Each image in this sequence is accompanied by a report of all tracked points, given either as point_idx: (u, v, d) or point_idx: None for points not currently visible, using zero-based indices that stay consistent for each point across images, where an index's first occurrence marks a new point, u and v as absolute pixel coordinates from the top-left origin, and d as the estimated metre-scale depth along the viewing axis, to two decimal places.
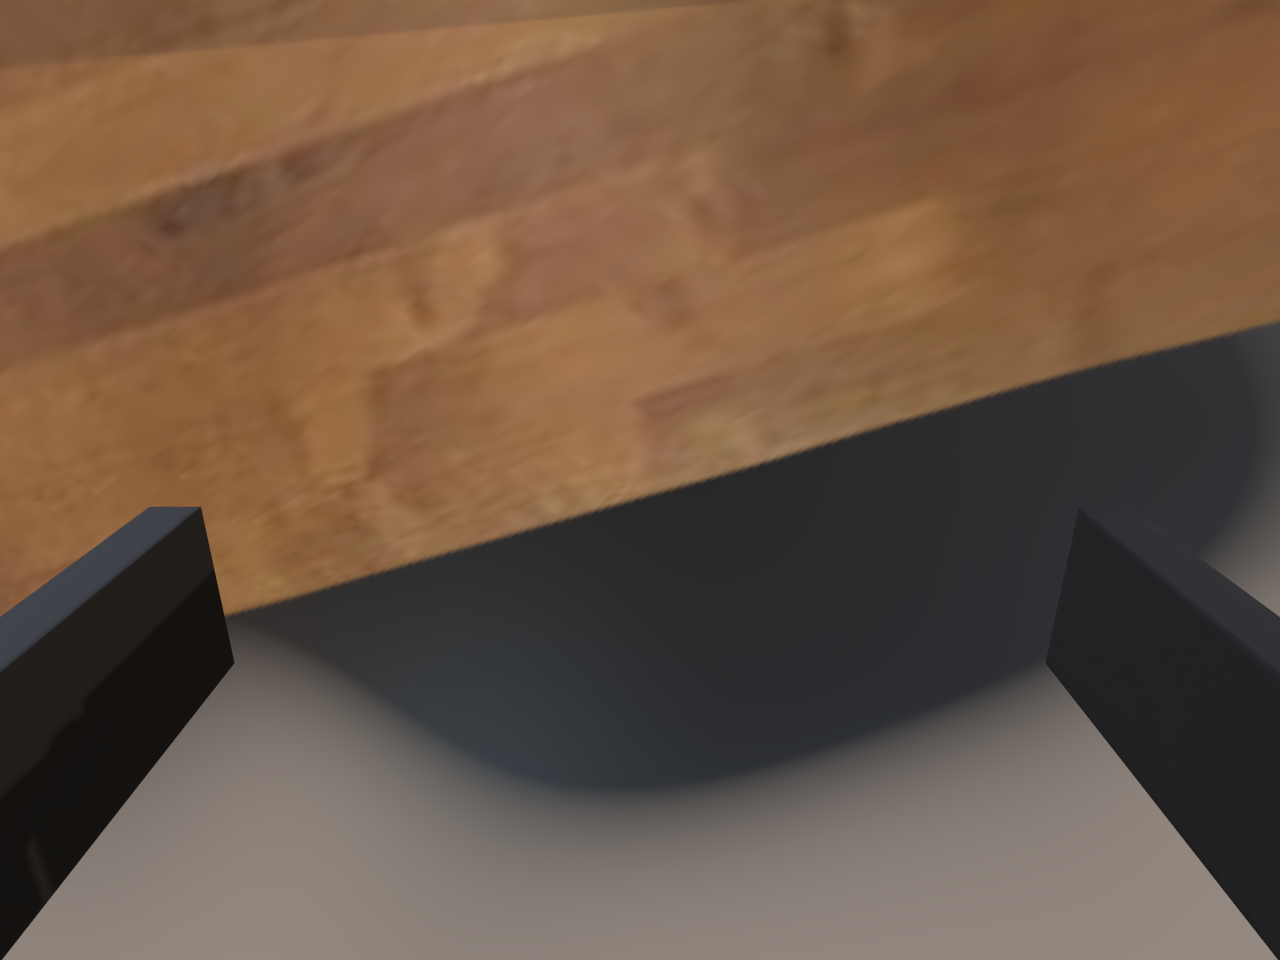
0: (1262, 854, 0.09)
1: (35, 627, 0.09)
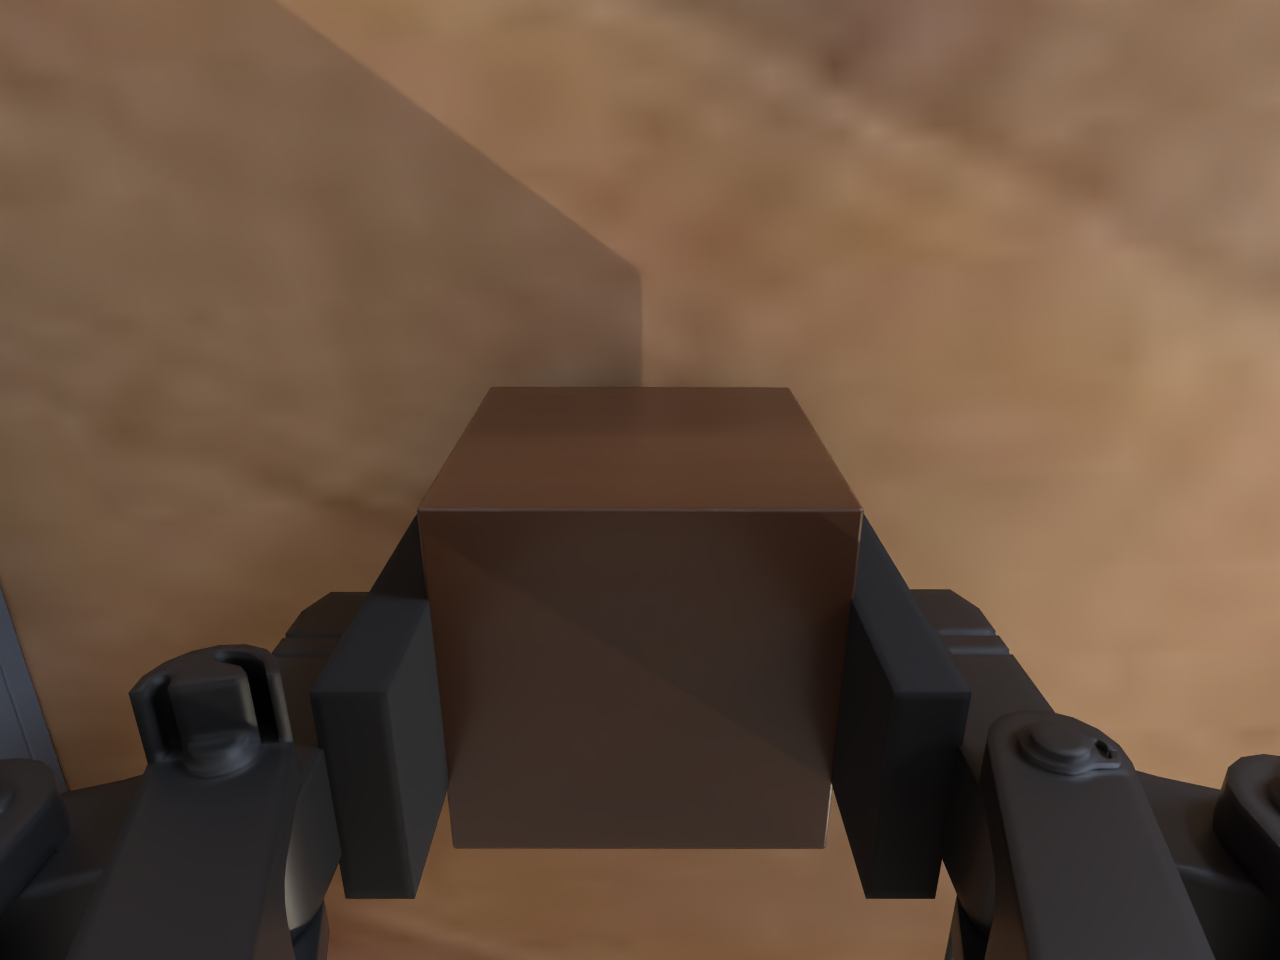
0: None
1: None
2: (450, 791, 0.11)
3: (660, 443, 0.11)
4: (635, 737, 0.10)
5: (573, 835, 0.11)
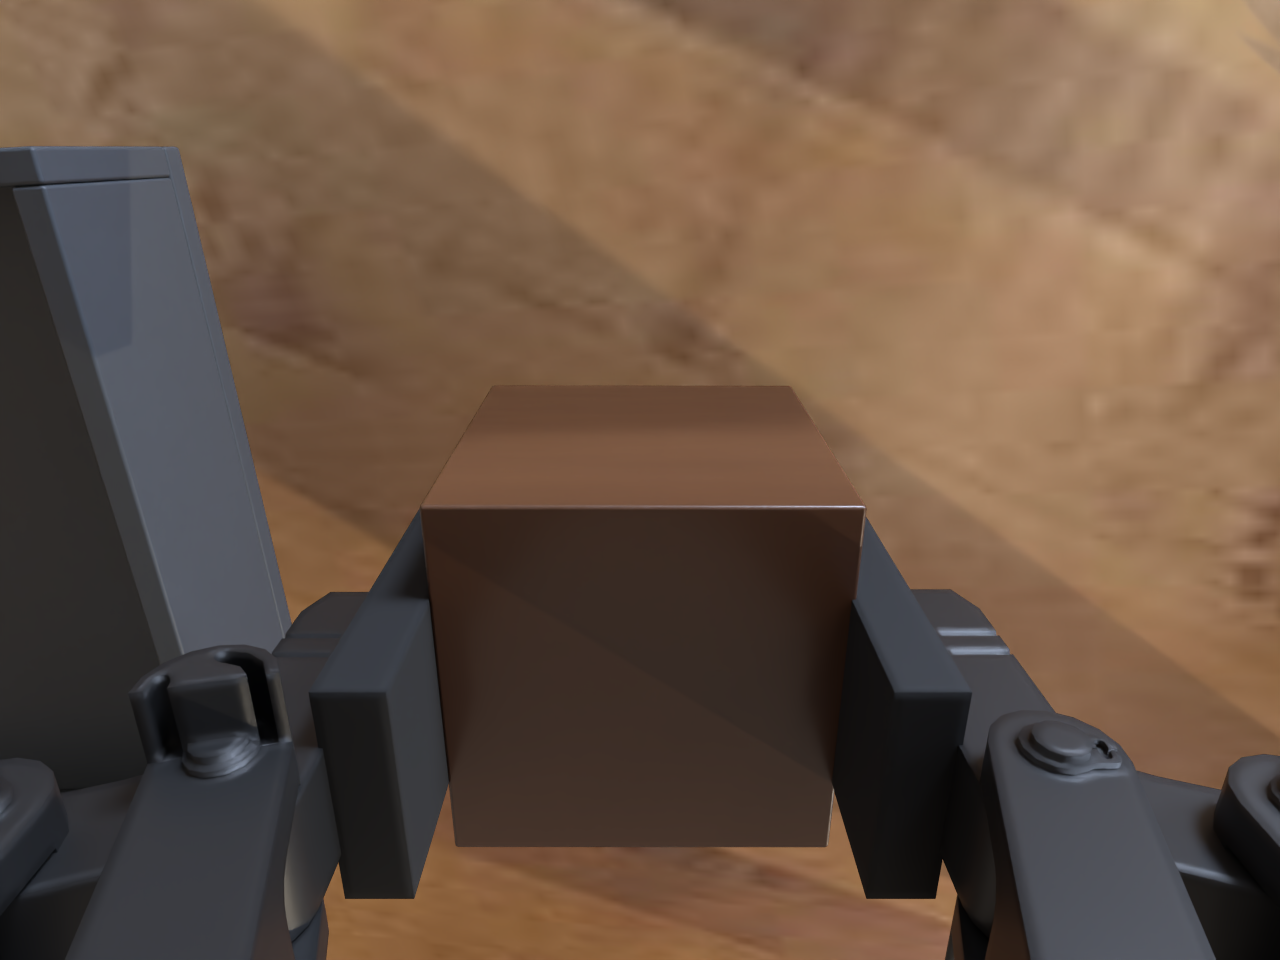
0: None
1: None
2: (452, 789, 0.11)
3: (662, 441, 0.11)
4: (637, 736, 0.10)
5: (575, 834, 0.11)
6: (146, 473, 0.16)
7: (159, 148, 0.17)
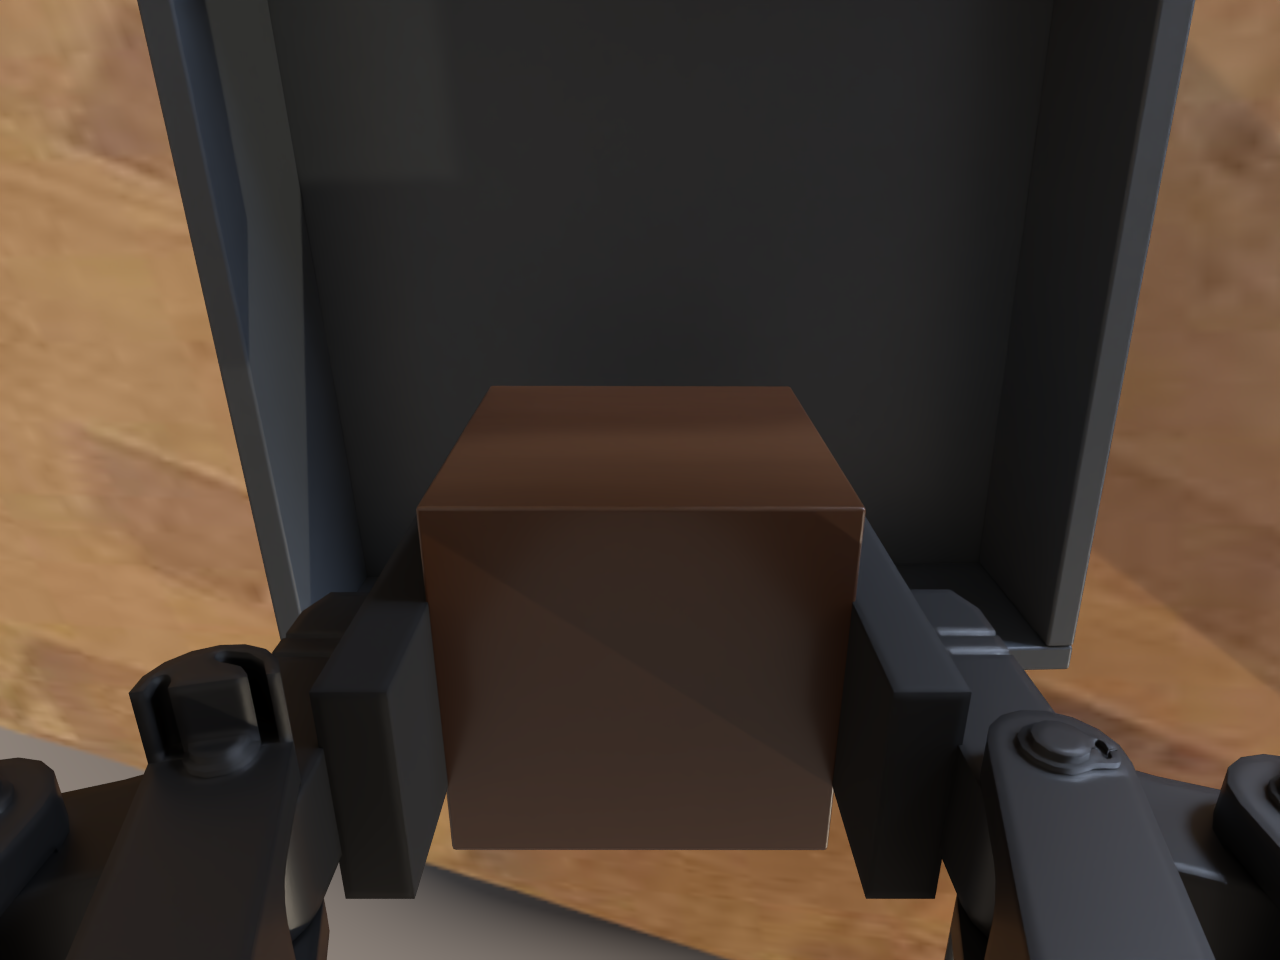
0: None
1: None
2: (449, 792, 0.11)
3: (661, 442, 0.11)
4: (635, 737, 0.10)
5: (573, 836, 0.11)
6: None
7: None
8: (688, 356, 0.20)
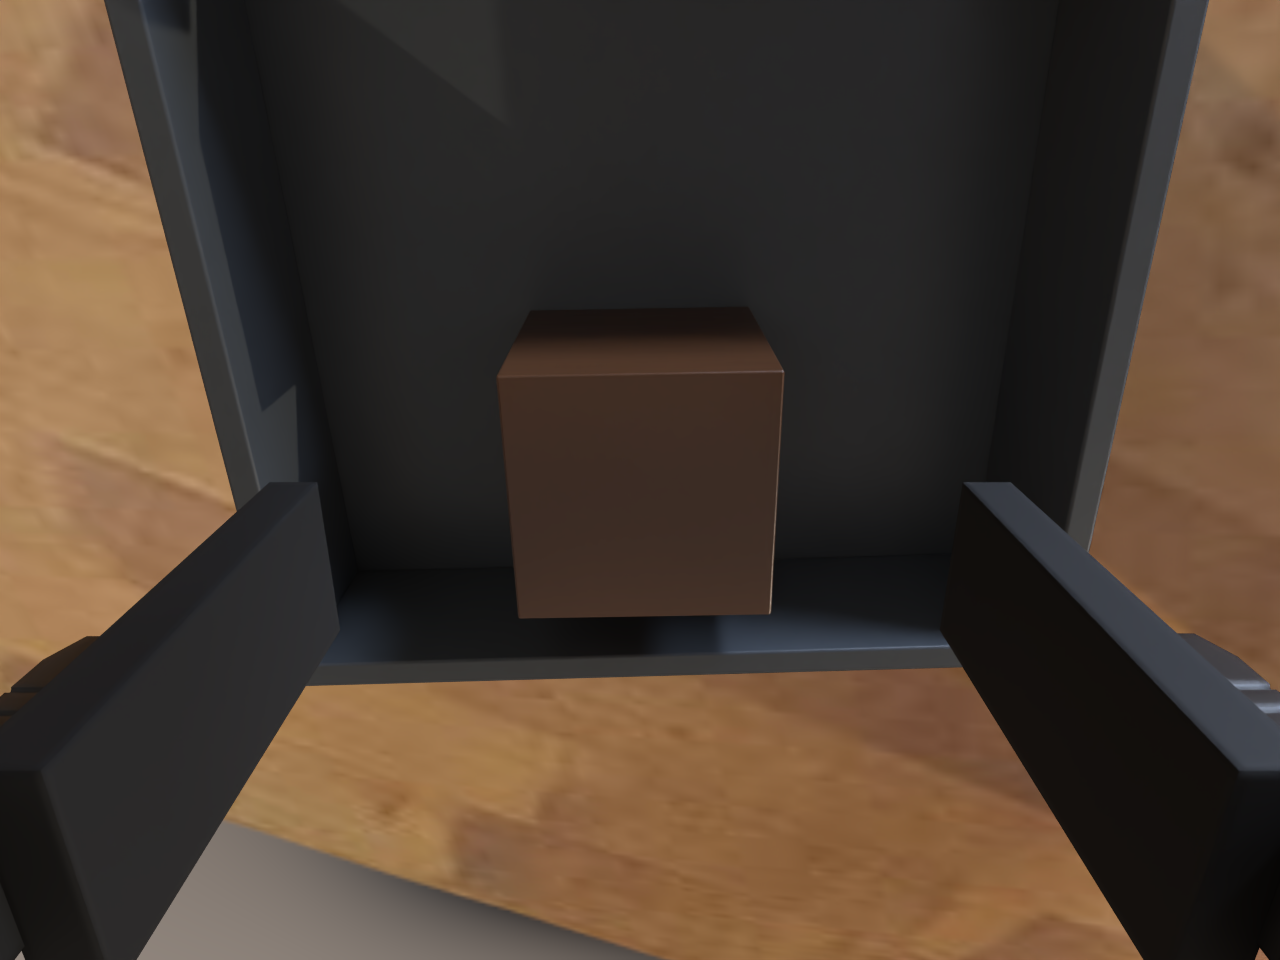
0: (1084, 787, 0.09)
1: (202, 584, 0.10)
2: (516, 575, 0.16)
3: (654, 339, 0.16)
4: (640, 534, 0.16)
5: (599, 607, 0.16)
6: None
7: None
8: None
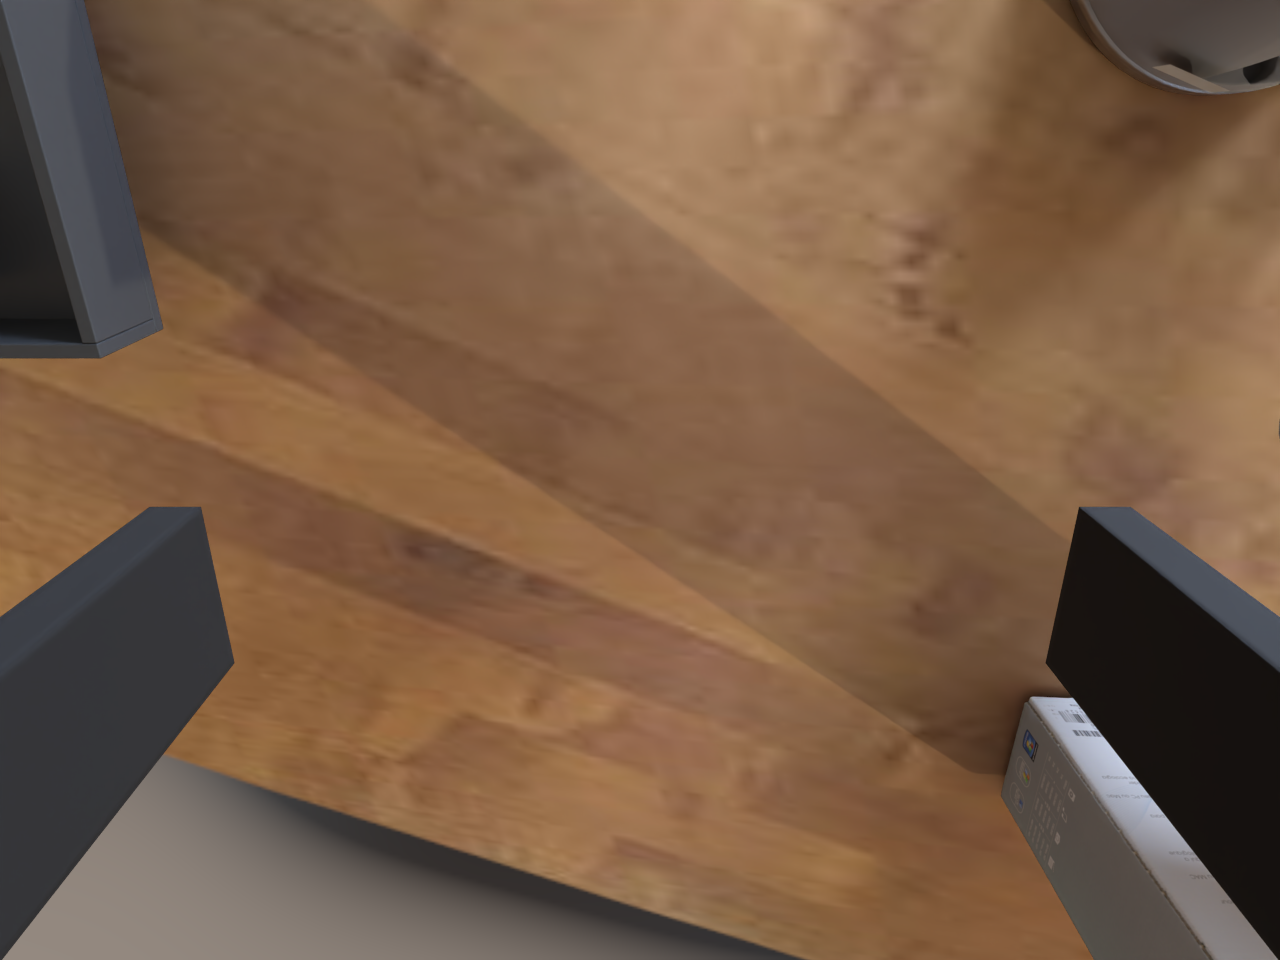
0: (1262, 854, 0.09)
1: (35, 627, 0.09)
2: None
3: None
4: None
5: None
6: (19, 28, 0.28)
7: None
8: None
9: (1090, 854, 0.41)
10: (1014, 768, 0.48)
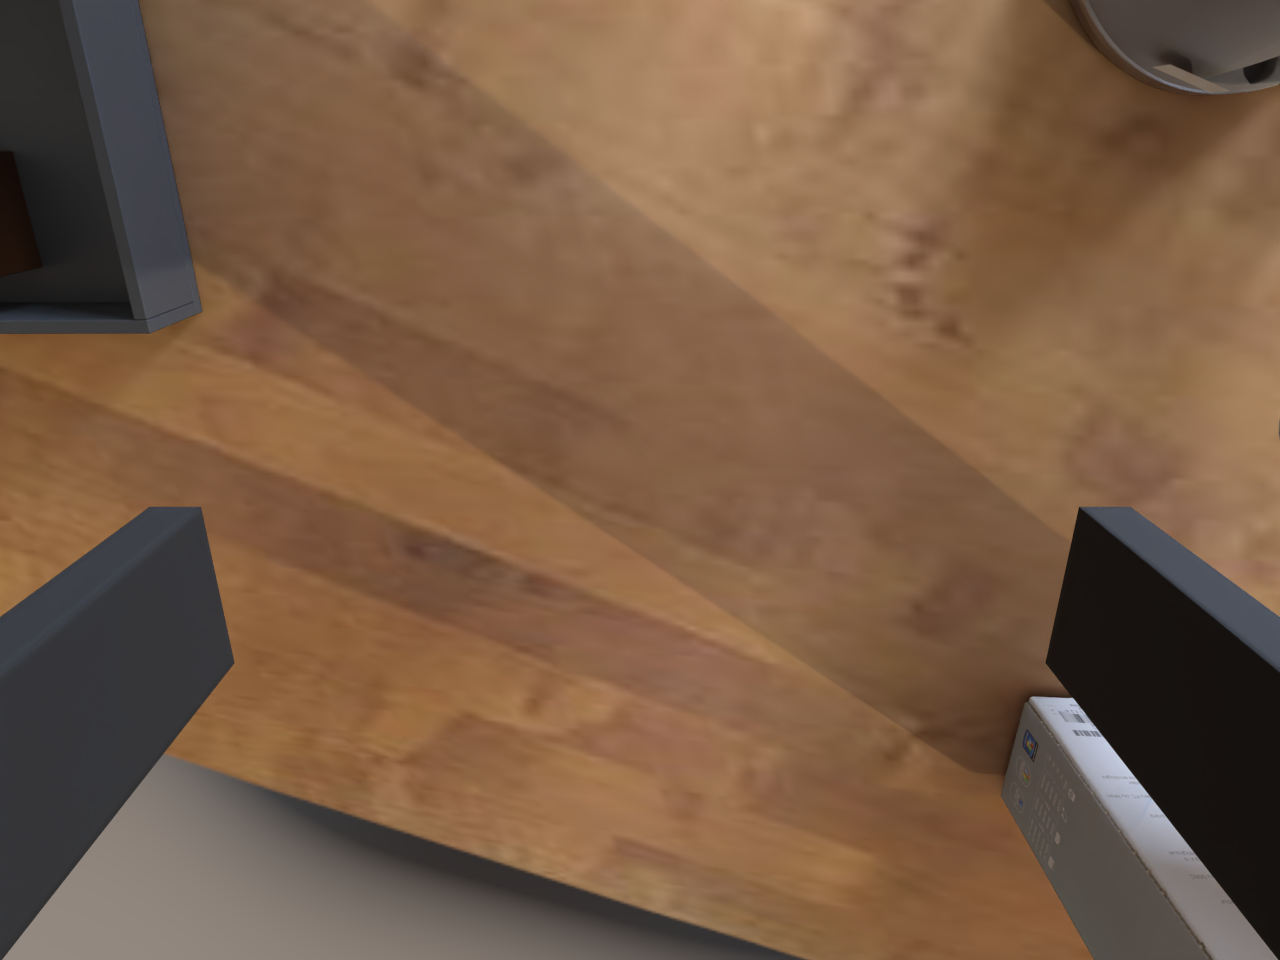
0: (1261, 853, 0.09)
1: (35, 627, 0.09)
2: None
3: None
4: None
5: None
6: (89, 37, 0.32)
7: None
8: None
9: (1090, 854, 0.41)
10: (1014, 768, 0.48)
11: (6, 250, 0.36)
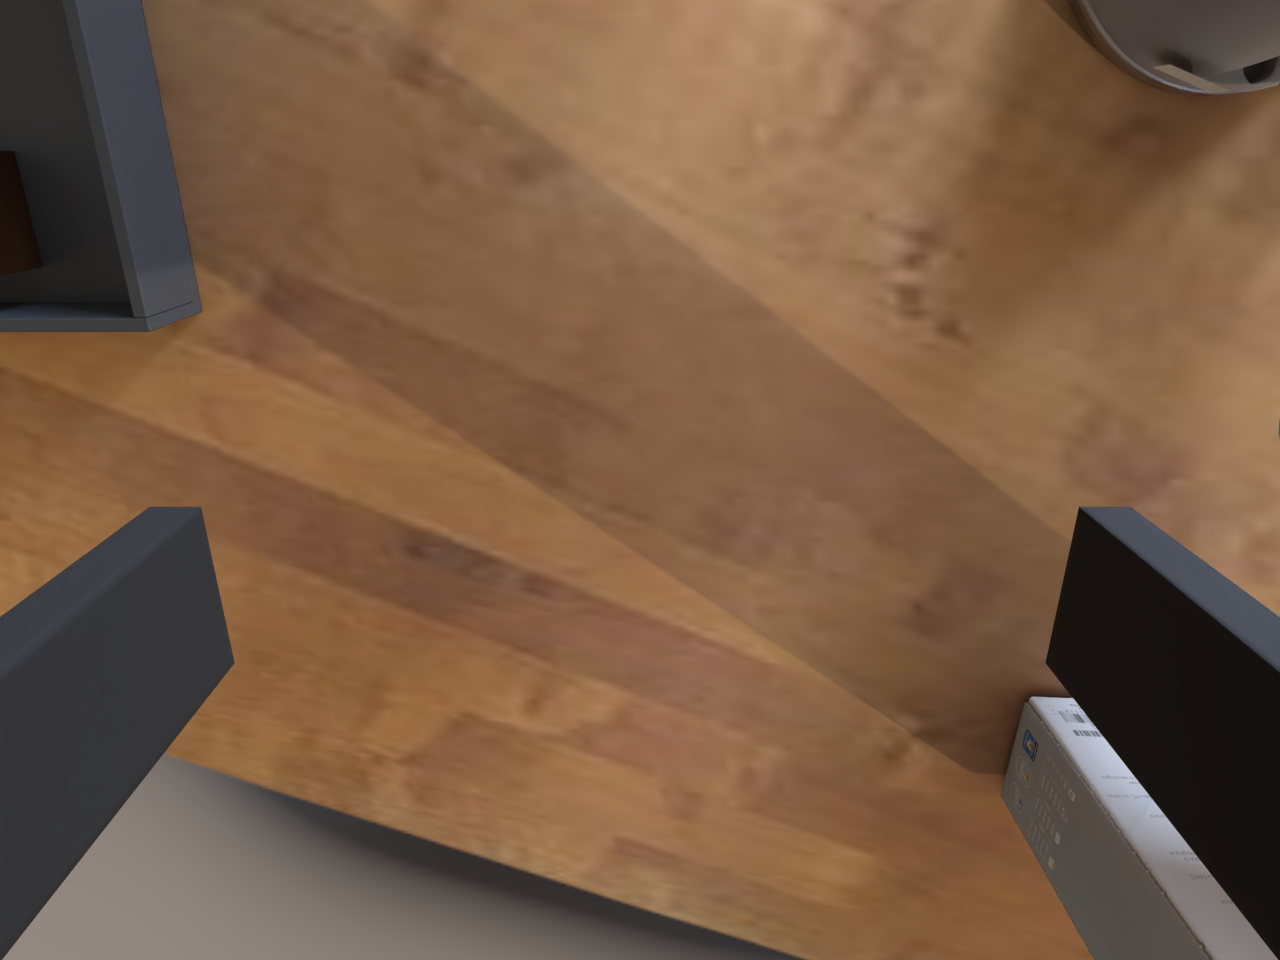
0: (1261, 853, 0.09)
1: (35, 627, 0.09)
2: None
3: None
4: None
5: None
6: (91, 36, 0.32)
7: None
8: None
9: (1090, 854, 0.41)
10: (1014, 768, 0.48)
11: (6, 249, 0.36)
